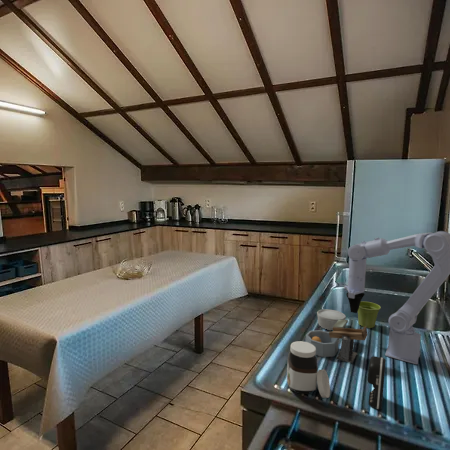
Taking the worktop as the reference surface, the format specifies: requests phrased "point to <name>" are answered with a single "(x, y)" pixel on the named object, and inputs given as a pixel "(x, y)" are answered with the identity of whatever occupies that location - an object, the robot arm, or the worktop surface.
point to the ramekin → (329, 318)
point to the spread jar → (306, 370)
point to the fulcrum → (347, 350)
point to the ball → (316, 339)
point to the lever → (347, 331)
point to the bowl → (323, 343)
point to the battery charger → (376, 381)
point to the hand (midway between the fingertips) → (354, 312)
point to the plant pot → (368, 314)
